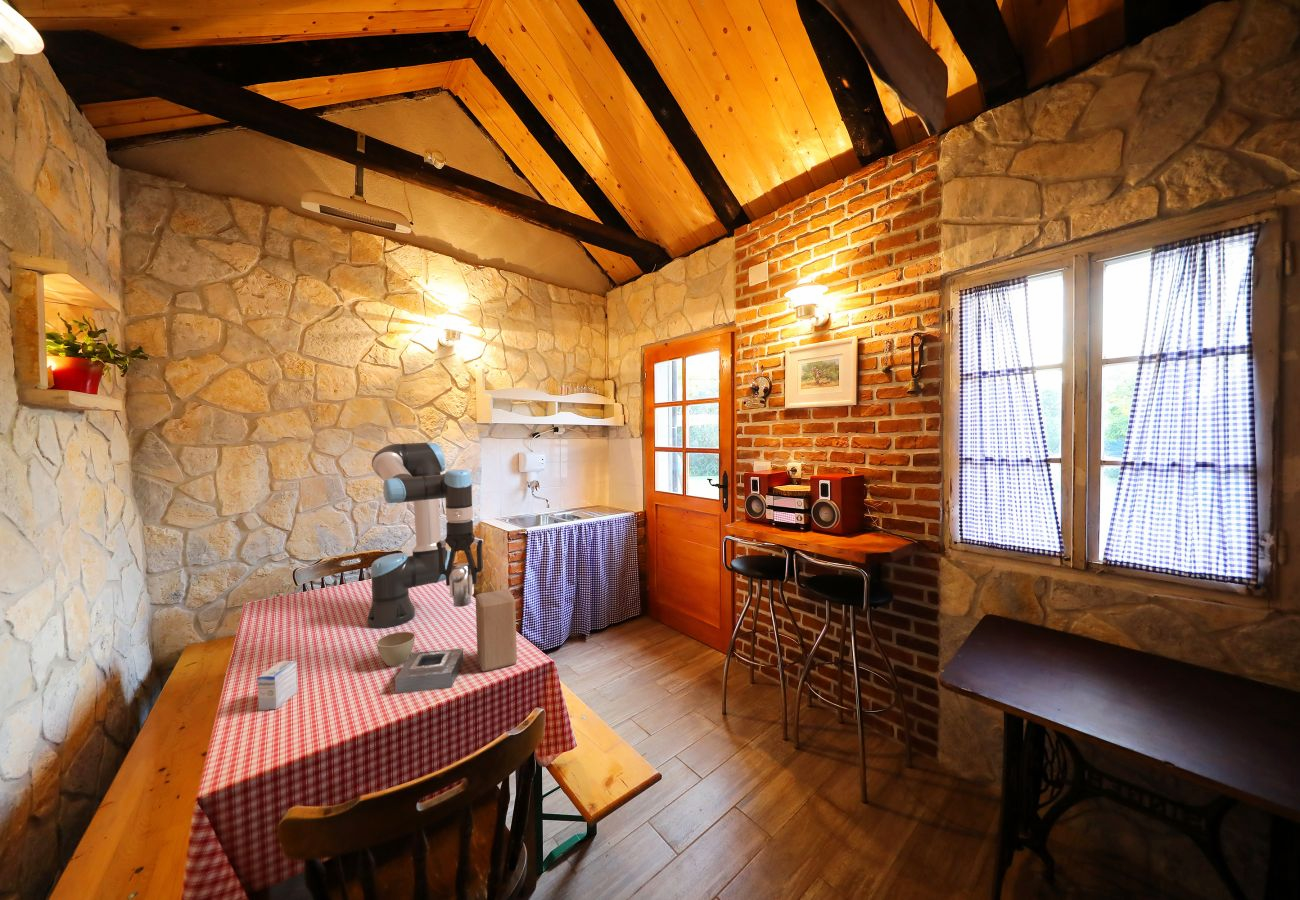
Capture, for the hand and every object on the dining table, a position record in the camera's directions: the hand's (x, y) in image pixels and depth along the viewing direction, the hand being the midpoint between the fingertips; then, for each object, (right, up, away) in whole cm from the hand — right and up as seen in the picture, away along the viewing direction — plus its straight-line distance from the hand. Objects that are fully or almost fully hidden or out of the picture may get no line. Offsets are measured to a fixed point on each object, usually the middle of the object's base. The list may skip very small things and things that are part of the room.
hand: (462, 594), depth 142 cm
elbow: (0, -3, -1) cm, 3 cm away
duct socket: (-3, -19, -13) cm, 23 cm away
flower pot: (-17, -19, -5) cm, 26 cm away
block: (+13, -18, -5) cm, 23 cm away
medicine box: (-37, -20, -24) cm, 49 cm away
